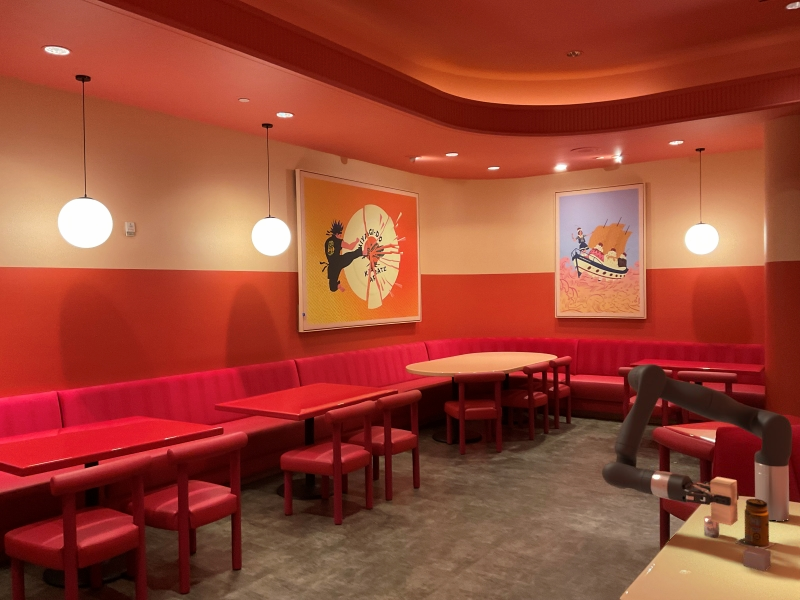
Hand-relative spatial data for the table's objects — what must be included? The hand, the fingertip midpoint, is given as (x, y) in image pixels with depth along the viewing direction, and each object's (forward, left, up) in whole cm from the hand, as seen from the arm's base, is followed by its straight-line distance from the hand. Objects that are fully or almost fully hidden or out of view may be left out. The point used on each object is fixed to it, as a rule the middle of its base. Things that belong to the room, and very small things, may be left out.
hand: (734, 498), depth 170 cm
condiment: (-15, 0, -17) cm, 22 cm away
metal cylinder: (-13, -11, -16) cm, 23 cm away
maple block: (0, -3, -7) cm, 7 cm away
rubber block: (0, +5, -16) cm, 17 cm away
